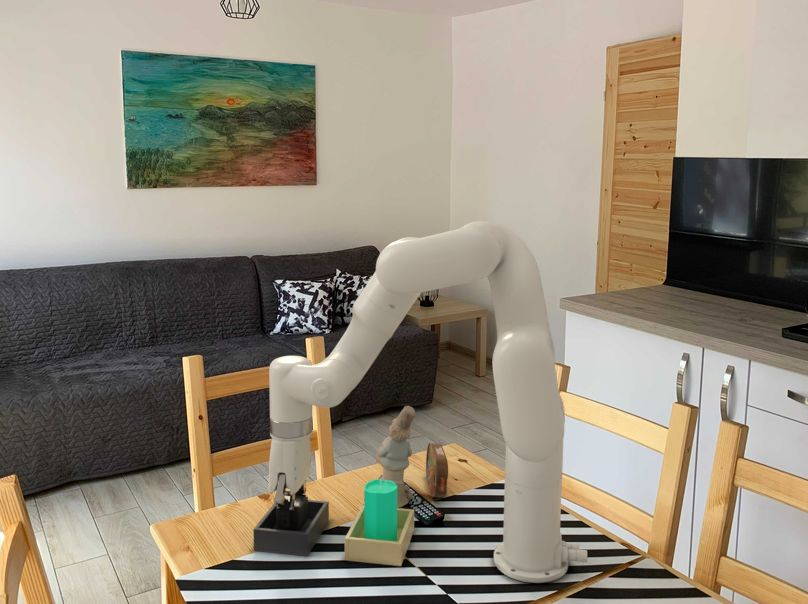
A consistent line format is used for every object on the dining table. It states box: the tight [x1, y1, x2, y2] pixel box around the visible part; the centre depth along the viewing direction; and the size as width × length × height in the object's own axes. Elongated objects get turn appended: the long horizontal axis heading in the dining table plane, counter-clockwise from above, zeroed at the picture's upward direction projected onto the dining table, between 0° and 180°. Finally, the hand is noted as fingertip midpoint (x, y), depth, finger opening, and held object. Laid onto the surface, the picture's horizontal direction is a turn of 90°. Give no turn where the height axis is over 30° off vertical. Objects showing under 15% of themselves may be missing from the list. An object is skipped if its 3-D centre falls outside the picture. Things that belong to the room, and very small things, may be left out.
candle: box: [363, 478, 397, 542], centre depth 126 cm, size 6×6×12 cm
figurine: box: [375, 405, 416, 508], centre depth 143 cm, size 9×8×20 cm
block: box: [276, 495, 309, 532], centre depth 130 cm, size 4×4×4 cm
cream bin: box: [344, 504, 415, 567], centre depth 127 cm, size 10×12×4 cm
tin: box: [425, 442, 449, 498], centre depth 149 cm, size 15×3×8 cm, turn 6°
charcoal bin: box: [253, 499, 330, 557], centre depth 130 cm, size 10×12×4 cm
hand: (292, 520), depth 130 cm, fingers closed on block, 4 cm apart
